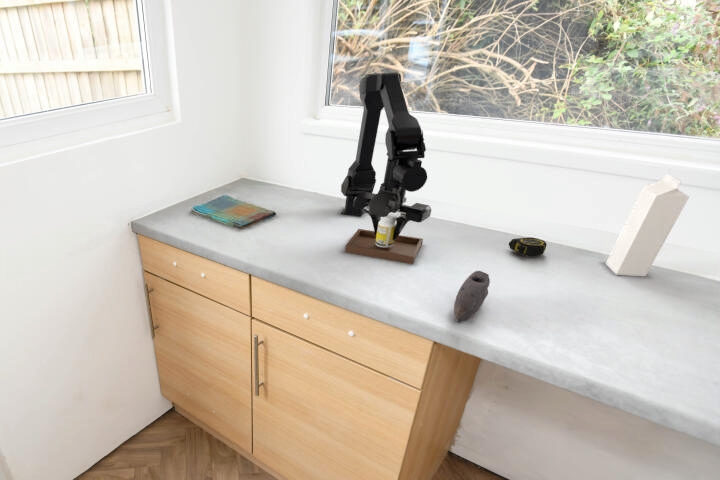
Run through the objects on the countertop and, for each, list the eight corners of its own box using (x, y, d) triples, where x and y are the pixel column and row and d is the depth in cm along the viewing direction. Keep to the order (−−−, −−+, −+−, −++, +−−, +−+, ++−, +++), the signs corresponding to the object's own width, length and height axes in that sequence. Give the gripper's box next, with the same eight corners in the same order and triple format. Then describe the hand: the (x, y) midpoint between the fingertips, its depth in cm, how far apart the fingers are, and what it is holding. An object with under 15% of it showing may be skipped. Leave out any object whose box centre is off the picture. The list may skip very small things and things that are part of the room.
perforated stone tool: (468, 331, 95) (478, 302, 91) (441, 323, 98) (449, 294, 94) (487, 300, 104) (497, 272, 100) (462, 294, 107) (471, 266, 103)
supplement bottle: (391, 240, 129) (397, 211, 124) (395, 248, 126) (401, 217, 121) (373, 241, 130) (378, 211, 125) (376, 248, 126) (381, 217, 121)
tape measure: (531, 247, 125) (536, 234, 123) (548, 258, 119) (554, 245, 117) (506, 249, 125) (510, 236, 123) (522, 260, 119) (527, 247, 117)
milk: (615, 275, 111) (663, 181, 98) (605, 263, 116) (649, 172, 103) (646, 276, 110) (698, 181, 97) (634, 265, 115) (682, 173, 102)
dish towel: (226, 200, 167) (225, 193, 165) (277, 215, 152) (277, 208, 151) (189, 213, 157) (189, 206, 156) (240, 231, 143) (240, 223, 141)
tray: (357, 235, 137) (358, 228, 135) (421, 245, 129) (423, 238, 128) (344, 252, 128) (345, 245, 127) (412, 264, 120) (414, 256, 119)
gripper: (345, 180, 119) (338, 238, 128) (417, 194, 108) (404, 257, 117) (368, 169, 125) (360, 225, 134) (438, 182, 114) (424, 242, 123)
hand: (385, 237), depth 127 cm, fingers closed on supplement bottle, 5 cm apart
